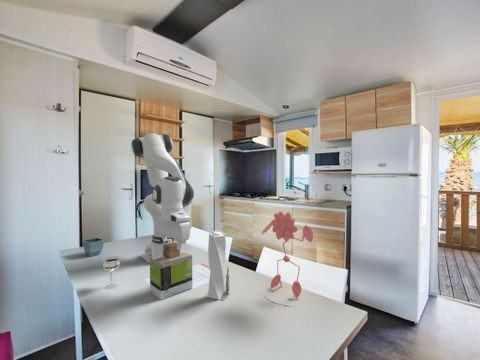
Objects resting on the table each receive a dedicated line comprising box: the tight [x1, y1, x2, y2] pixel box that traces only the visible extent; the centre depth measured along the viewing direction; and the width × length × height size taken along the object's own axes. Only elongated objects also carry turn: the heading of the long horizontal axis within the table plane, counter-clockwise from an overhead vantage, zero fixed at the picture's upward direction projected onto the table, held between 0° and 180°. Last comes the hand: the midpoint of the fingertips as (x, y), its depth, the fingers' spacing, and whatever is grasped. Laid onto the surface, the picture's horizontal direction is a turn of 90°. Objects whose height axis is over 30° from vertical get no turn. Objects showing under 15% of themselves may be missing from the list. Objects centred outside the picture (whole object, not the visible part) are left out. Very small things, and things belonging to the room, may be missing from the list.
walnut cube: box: [163, 241, 181, 259], centre depth 104 cm, size 5×5×5 cm
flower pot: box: [82, 237, 105, 257], centre depth 147 cm, size 9×9×9 cm
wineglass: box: [102, 256, 121, 290], centre depth 106 cm, size 7×7×12 cm
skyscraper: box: [207, 230, 231, 302], centre depth 99 cm, size 8×8×28 cm
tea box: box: [149, 250, 193, 300], centre depth 104 cm, size 15×10×15 cm
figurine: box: [261, 211, 314, 307], centre depth 100 cm, size 15×26×35 cm, turn 45°
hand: (171, 246), depth 104 cm, fingers open, 8 cm apart
